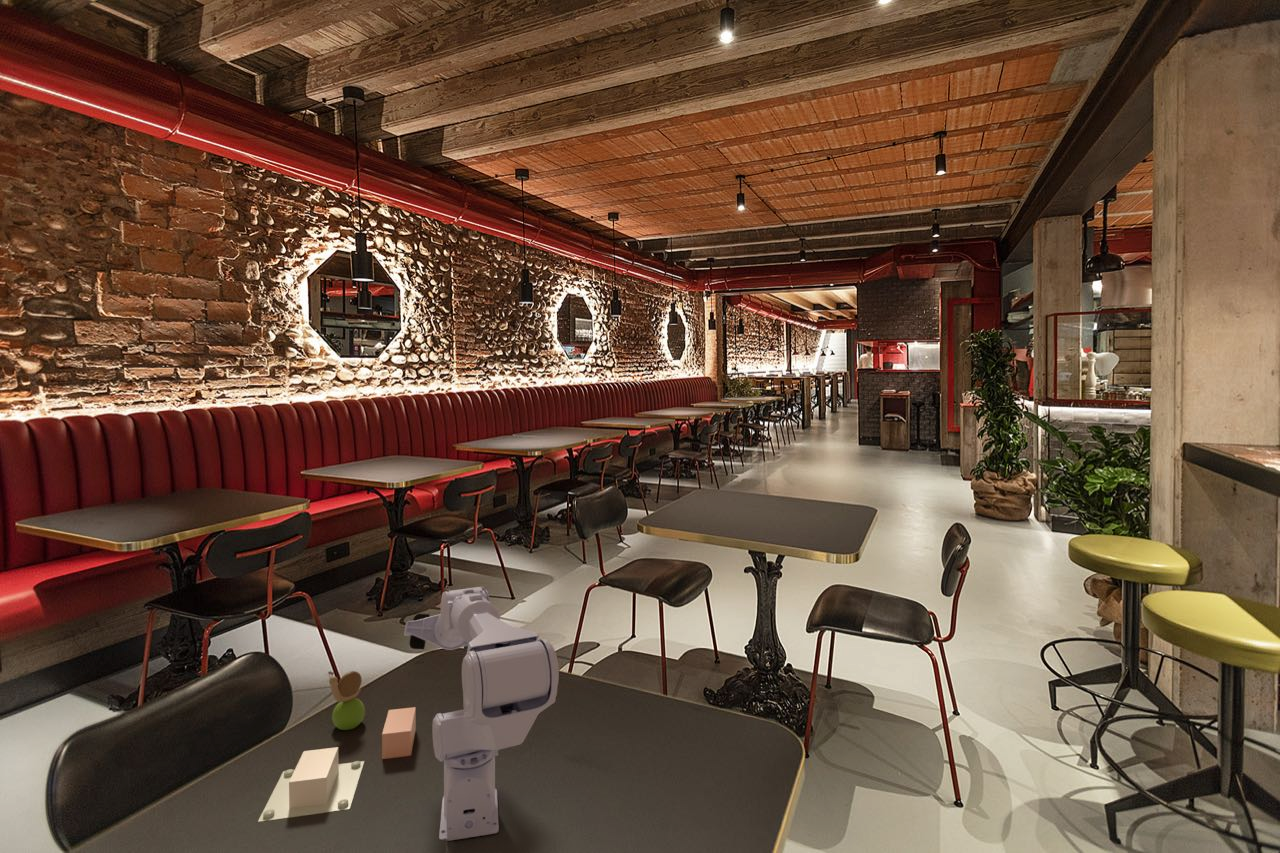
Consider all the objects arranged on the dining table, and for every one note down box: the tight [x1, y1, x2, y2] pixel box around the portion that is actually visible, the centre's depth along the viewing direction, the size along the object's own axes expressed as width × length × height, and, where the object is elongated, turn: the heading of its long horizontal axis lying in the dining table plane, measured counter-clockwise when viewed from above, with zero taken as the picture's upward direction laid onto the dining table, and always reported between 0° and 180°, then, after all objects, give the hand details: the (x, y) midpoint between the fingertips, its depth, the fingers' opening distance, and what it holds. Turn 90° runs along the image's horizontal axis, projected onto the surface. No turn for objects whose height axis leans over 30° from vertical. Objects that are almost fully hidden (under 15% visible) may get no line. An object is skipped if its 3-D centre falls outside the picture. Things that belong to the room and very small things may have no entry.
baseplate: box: [257, 760, 365, 823], centre depth 95 cm, size 12×12×1 cm
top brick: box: [381, 706, 417, 760], centre depth 108 cm, size 8×4×5 cm, turn 14°
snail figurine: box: [327, 670, 366, 731], centre depth 113 cm, size 5×6×12 cm
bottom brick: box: [289, 746, 340, 809], centre depth 95 cm, size 8×5×4 cm, turn 14°
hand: (444, 642), depth 110 cm, fingers open, 7 cm apart
